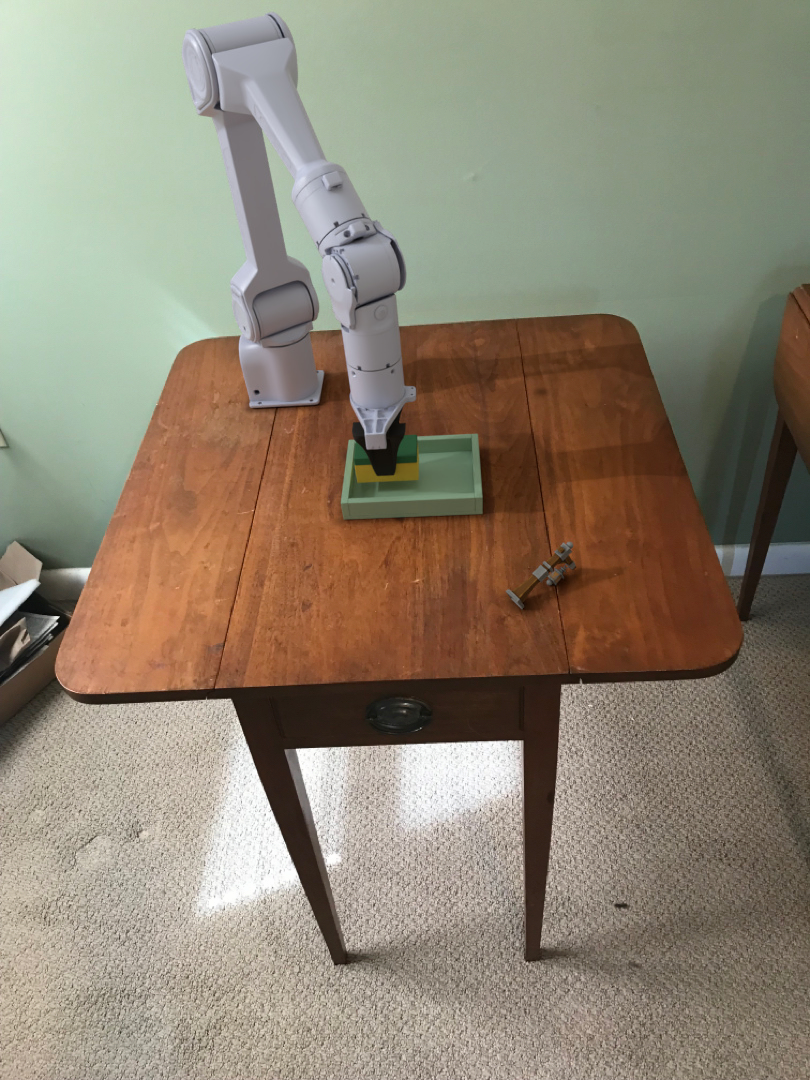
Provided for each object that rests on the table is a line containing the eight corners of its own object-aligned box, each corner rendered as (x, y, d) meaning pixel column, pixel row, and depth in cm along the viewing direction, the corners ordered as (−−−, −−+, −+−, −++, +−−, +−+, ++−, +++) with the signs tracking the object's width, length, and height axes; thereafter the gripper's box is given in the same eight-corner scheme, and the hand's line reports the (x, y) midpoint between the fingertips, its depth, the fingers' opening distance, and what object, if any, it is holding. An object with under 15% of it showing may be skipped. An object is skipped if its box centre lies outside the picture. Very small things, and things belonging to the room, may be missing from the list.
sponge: (357, 483, 88) (353, 458, 85) (359, 461, 90) (356, 437, 88) (418, 480, 87) (416, 455, 85) (419, 458, 90) (417, 434, 87)
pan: (343, 519, 86) (340, 503, 85) (351, 455, 95) (348, 439, 93) (482, 514, 85) (482, 497, 84) (478, 450, 94) (477, 433, 92)
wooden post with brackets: (587, 564, 77) (576, 543, 74) (529, 619, 77) (516, 601, 74) (574, 554, 78) (563, 533, 75) (518, 608, 78) (504, 589, 75)
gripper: (411, 394, 73) (420, 501, 82) (414, 319, 83) (421, 422, 93) (337, 398, 73) (355, 504, 83) (349, 323, 84) (363, 425, 93)
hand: (386, 461), depth 88 cm, fingers closed on sponge, 4 cm apart
